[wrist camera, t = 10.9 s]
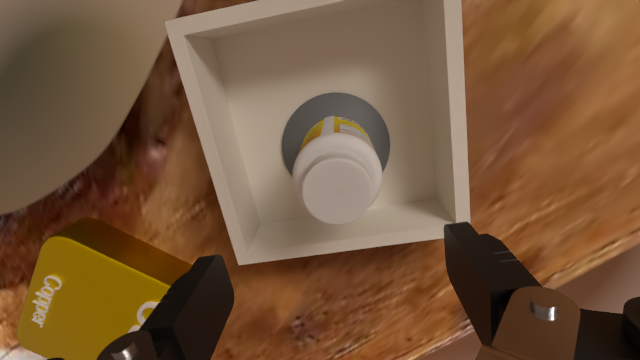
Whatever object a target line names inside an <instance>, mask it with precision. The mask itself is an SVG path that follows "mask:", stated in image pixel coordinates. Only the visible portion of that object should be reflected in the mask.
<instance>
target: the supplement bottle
mask: <svg viewBox="0 0 640 360" xmlns="http://www.w3.org/2000/svg"><path fill="white" fill-rule="evenodd" d="M382 177H383V175H382V167H381V163H380V160H379V158H378V156H377V153H376V151H375V149H374V147H373V145H372V143H371V140H370V138H369V136H368V134H367V132H366V130H365V129H364V128H363V127H362V126H361V125H360V124H359V123H358V122H356V121H355V120H353V119H351V118H349V117H345V116H329V117H326V118H323V119H321V120H319V121H318V122H316V123H315V124H314V125H313V126H312V127H311V128H310V129H309V131H308V132H307V134H306V136H305V138H304V141H303V143H302V146H301V148H300V151H299V153H298V155H297V158H296V160H295V163H294V167H293V174H292V180H293V186H294V190H295V192H296V195H297V197H298V198H299V200H300V201H301V203H302V204H303V205H304V206H305V207H306V209H307V210H308V211H309V213H310V214H311V215H312V216H313V217H315V218H316V219H318V220H319V221H321V222H324V223H326V224H330V225H345V224H349V223H351V222H354V221H356V220H357V219H359V218H360V217H362V216H363V215H364V214H365V213H366V211H367V210H368V208H369V207H370V206H371V205H372V203H373V202H374V201H375V199H376V198H377V196H378V194H379V192H380V189H381V185H382Z"/></svg>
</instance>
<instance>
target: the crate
mask: <svg viewBox="0 0 640 360" xmlns="http://www.w3.org/2000/svg"><path fill="white" fill-rule="evenodd" d="M164 24H165V27H166V30H167V34H168V37H169V40H170V43H171V47H172V50H173V53H174V57H175V60H176V63H177V66H178V70H179V73H180V76H181V79H182V83H183V86H184V89H185V92H186V96H187V99H188V102H189V106H190V109H191V112H192V115H193V119H194V122H195V125H196V128H197V132H198V135H199V138H200V141H201V145H202V148H203V151H204V155H205V158H206V161H207V164H208V168H209V171H210V174H211V177H212V181H213V184H214V187H215V190H216V194H217V197H218V200H219V204H220V207H221V210H222V213H223V217H224V220H225V223H226V226H227V230H228V233H229V236H230V239H231V243H232V246H233V249H234V253H235V256H236V259H237V262H238V265H245V264H253V263H260V262H268V261H275V260H283V259H290V258H298V257H305V256H313V255H320V254H328V253H335V252H343V251H350V250H358V249H365V248H373V247H380V246H388V245H395V244H403V243H410V242H418V241H425V240H433V239H440V238H444V225H445V224H451V223H459V222H466V221H467V222H469V223H470V200H469V176H468V152H467V128H466V104H465V80H464V56H463V32H462V8H461V0H258V1H253V2H249V3H244V4H240V5H235V6H230V7H226V8H221V9H217V10H212V11H208V12H203V13H199V14H194V15H190V16H185V17H181V18H176V19H172V20H167V21H164ZM329 116H345V117H349V118H351V119H353V120H355V121H356V122H358V123H359V124H360V125H361V126H362V127H363V128H364V129H365V130H366V132H367V134H368V136H369V138H370V140H371V143H372V145H373V147H374V149H375V151H376V153H377V156H378V158H379V160H380V163H381V167H382V175H383V177H382V185H381V189H380V192H379V194H378V196H377V198H376V199H375V201H374V202H373V203H372V205H371V206H370V207H369V208H368V210H367V211H366V213H365V214H364V215H363V216H362V217H360V218H359V219H357V220H356V221H354V222H351V223H349V224H345V225H330V224H326V223H324V222H321V221H319V220H318V219H316V218H315V217H313V216H312V215H311V214H310V213H309V211H308V210H307V209H306V207H305V206H304V205H303V204H302V203H301V201H300V200H299V198H298V197H297V195H296V192H295V190H294V186H293V180H292V174H293V167H294V163H295V160H296V158H297V155H298V153H299V151H300V148H301V146H302V143H303V141H304V138H305V136H306V134H307V132H308V131H309V129H310V128H311V127H312V126H313V125H314V124H315V123H316V122H318V121H319V120H321V119H323V118H326V117H329ZM470 225H471V224H470Z"/></svg>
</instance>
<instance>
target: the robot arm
mask: <svg viewBox="0 0 640 360" xmlns="http://www.w3.org/2000/svg"><path fill="white" fill-rule="evenodd" d="M444 243H445V258H446V268H447V272H448V276H449V279H450V282H451V284H452V286H453V288H454V290H455V292H456V294H457V296H458V298H459V300H460V302H461V304H462V306H463V308H464V309H465V311H466V313H467V315H468V317H469V319H470V321H471V323H472V325H473V327H474V329H475V331H476V333H477V335H478V337H479V339H480V341H481V343H482V346H481V348H480V350H479V352H478V355H477V357H476V359H475V360H640V297H636V298H632V299H630V300H628V301H627V302H626V303H625V305H624V309H623V314H618V313H609V312H599V311H592V310H585V309H581V308H579V307H578V305H577V304H576V303H575V302H574V301H573V300H572V299H571V298H570V297H568V296H566V295H565V294H563V293H561V292H559V291H556V290H553V289H550V288H546V287H542V286H541V285H540V284H539V283H538V281H537V280H536V279H535V278H534V277H533V276H532V275H531V274H530V273H529V271H528V270H527V269H526V268H525V267H524V266H523V265H522V264H521V262H520V261H519V260H517V258H516V257H515V256H514V255H513V254H512V252H510V251H509V249H508V248H507V247H506V246H505V245H504V244H503V242H502V241H500V240H499V239H497V238H495V237H493V236H491V235H489V234H480V235H478V233H477V232H476V231H475V230H474V228H473V227H472V226H471V225H470V223H469V222H467V221H466V222H459V223H451V224H445V225H444ZM166 293H167V294H165V295H164V296H163V298H162V299H161V300H160V303H158V304H157V306H156V307H155V308H154V310H153V311H152V312H151V314H150V315H149V317H148V318H147V319H146V321H145V322H144V323H143V325H142V326H141V327H140V329H139V330H138V331H133V332H130V333H127V334H125V335H122V336H121V337H119V338H117V339H116V340H114V341H113V342H111V343H110V344H109V345H108V346H106V347H105V348H104V349H103V350H102V352H101V353H100V354H99V356H98V357H97V360H210V359H211V357H212V354H213V352H214V350H215V347H216V345H217V343H218V340H219V338H220V336H221V333H222V331H223V329H224V326H225V324H226V322H227V319H228V317H229V315H230V312H231V310H232V307H233V304H234V291H233V287H232V284H231V281H230V278H229V275H228V272H227V268H226V265H225V262H224V259H223V257H222V256H221V255H211V256H204V257H199V258H198V259H197V260H196V261H195V263H194V264H193V266H192V267H191V269H190V270H189V271H188V272H186V273H185V274H183V275H182V276H181V277H180V278H178V279H177V280H176V281H175V282H174V283H173V284H172V285H171V287H170V288H169V289H168V291H167V292H166ZM47 360H65V359H63V358H59V357H57V358H51V359H47Z"/></svg>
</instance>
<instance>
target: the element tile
mask: <svg viewBox="0 0 640 360" xmlns="http://www.w3.org/2000/svg"><path fill="white" fill-rule="evenodd" d="M192 266H193V265H191V264H189V263H187V262H185V261H183V260H180V259H178V258H176V257H174V256H172V255H170V254H168V253H166V252H164V251H162V250H160V249H158V248H156V247H154V246H152V245H150V244H148V243H146V242H143V241H141V240H139V239H137V238H135V237H133V236H131V235H129V234H127V233H125V232H123V231H121V230H119V229H117V228H115V227H113V226H111V225H108V224H106V223H104V222H102V221H100V220H98V219H95V218H88V217H85V218H81V219H79V220H77V221H75V222H74V223H72V224H70V225H69V226H67V227H65V228H64V229H62V230H60V231H59V232H57V233H55V234H54V235H52V236H51V237H49V238H48V239H47V240H46V241H45V242H44V243H43V245H42V247H41V250H40V253H39V257H38V260H37V263H36V267H35V270H34V273H33V276H32V280H31V283H30V286H29V289H28V293H27V296H26V299H25V303H24V306H23V309H22V312H21V316H20V319H19V322H18V326H17V330H16V334H17V338H18V341H19V344H20V345H21V346H23V347H24V348H26V349H28V350H30V351H32V352H34V353H36V354H38V355H41V356H43V357H46V358H48V359H51V358H57V357H59V358H63V359H65V360H97V357H98V356H99V354H100V353H101V352H102V350H103V349H104V348H105V347H106V346H108V345H109V344H110V343H111V342H113V341H114V340H116V339H117V338H119V337H121V336H122V335H125V334H127V333H130V332H133V331H138V330H139V329H140V327H141V326H142V325H143V323H144V322H145V321H146V319H147V318H148V317H149V315H150V314H151V312H152V311H153V310H154V308H155V307H156V306H157V304H158V303H160V300H161V299H162V298H163V296H164V295H165V294H167V293H166V292H167V291H168V289H169V288H170V287H171V285H172V284H173V283H174V282H175V281H176V280H177V279H178V278H180V277H181V276H182V275H183V274H185V273H186V272H188V271H189V270H190V269H191V267H192Z"/></svg>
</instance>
